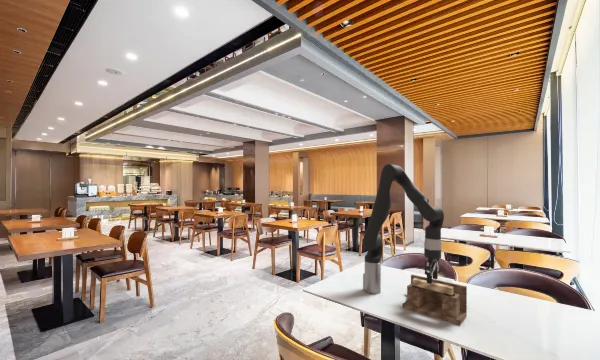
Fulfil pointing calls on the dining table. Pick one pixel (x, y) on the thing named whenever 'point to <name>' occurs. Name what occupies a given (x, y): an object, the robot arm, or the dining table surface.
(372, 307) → the dining table surface
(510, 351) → the dining table surface
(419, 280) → the oak rail
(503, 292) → the dining table surface
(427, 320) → the dining table surface
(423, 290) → the wooden pen holder stand
